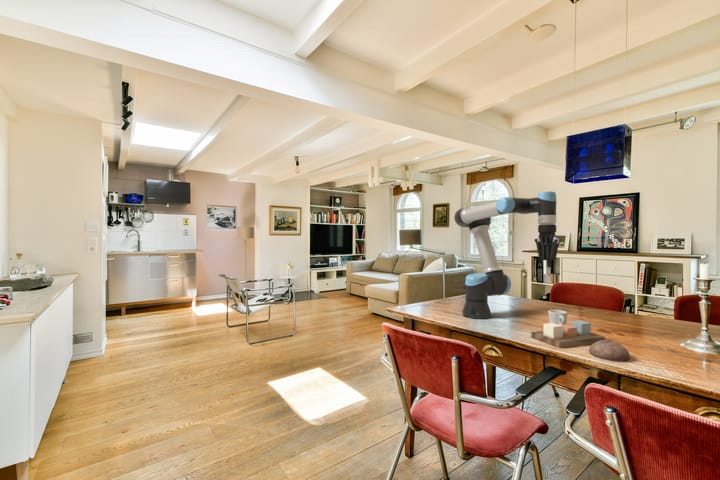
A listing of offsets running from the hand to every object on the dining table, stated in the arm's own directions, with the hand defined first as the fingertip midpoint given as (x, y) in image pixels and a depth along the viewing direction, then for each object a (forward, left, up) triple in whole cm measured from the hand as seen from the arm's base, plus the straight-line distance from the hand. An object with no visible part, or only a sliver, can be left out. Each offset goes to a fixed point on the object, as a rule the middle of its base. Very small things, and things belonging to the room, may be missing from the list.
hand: (547, 273), depth 152 cm
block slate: (+15, +2, -24) cm, 29 cm away
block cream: (+15, -13, -24) cm, 31 cm away
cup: (+1, +6, -27) cm, 27 cm away
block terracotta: (+15, -5, -26) cm, 30 cm away
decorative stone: (+34, -6, -27) cm, 44 cm away
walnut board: (+15, -5, -26) cm, 31 cm away
